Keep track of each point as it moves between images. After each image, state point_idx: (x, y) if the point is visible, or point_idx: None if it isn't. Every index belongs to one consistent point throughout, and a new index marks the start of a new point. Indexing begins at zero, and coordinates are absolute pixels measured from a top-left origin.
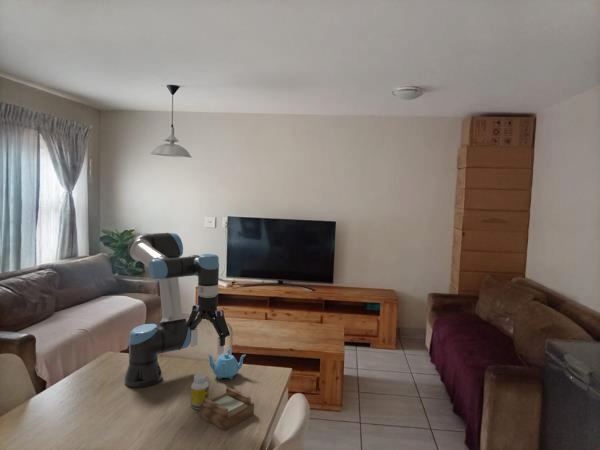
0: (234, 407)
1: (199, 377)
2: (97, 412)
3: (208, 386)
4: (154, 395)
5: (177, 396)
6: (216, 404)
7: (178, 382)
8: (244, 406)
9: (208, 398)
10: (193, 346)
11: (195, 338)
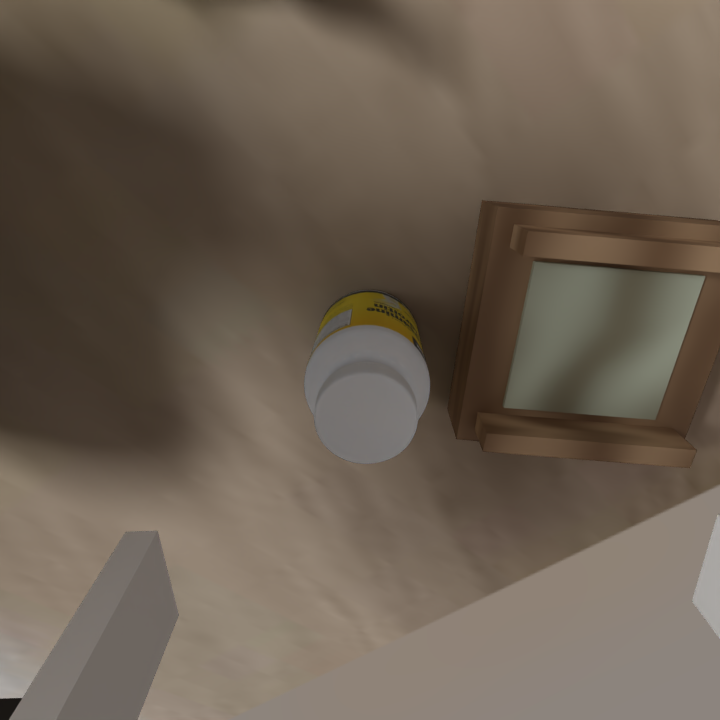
0: (668, 351)
1: (379, 438)
2: (59, 608)
3: (420, 352)
4: (75, 399)
5: (178, 336)
6: (601, 451)
7: (5, 204)
8: (716, 296)
9: (409, 317)
10: (174, 599)
11: (111, 690)
